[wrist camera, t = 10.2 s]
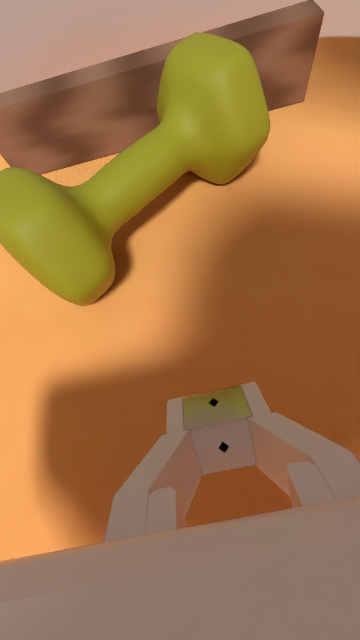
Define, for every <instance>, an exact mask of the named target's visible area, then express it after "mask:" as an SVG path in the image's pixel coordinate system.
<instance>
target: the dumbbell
mask: <svg viewBox="0 0 360 640" xmlns="http://www.w3.org/2000/svg"><path fill="white" fill-rule="evenodd" d="M157 114H158V118H159V121H160V124H159V125H158V126H157V127H156V128H155V129H153V130H152V131H151V132H149V133H148V134H146V135H145V136H143V137H142V138H140V139H139V140H138V141H136V142H135V143H133V144H132V145H131V146H129V147H128V148H126V149H125V150H124V151H122V152H121V153H120V154H118V155H117V156H116V157H115V158H114V159H112V160H111V161H110V162H109V163H108V164H106V165H105V166H104V167H103V168H102V169H101V170H99V171H98V172H97V173H96V174H95V175H94V176H93V177H91V178H90V179H89V180H88V181H86V182H85V183H83V184H82V185H79V186H74V187H68V186H62V185H60V184H57V183H54V182H52V181H51V180H49V179H47V178H45V177H43V176H41V175H39V174H37V173H35V172H32V171H30V170H28V169H23V168H19V167H12V168H6V169H4V170H2V171H0V243H1V244H2V245H3V247H4V248H5V249H6V250H7V251H8V252H9V253H10V254H11V255H12V257H13V258H14V259H15V260H16V261H17V262H18V263H19V264H20V265H21V266H22V267H24V268H25V269H26V270H27V271H28V272H29V273H30V274H31V275H32V276H33V277H34V278H35V279H37V280H38V281H39V282H40V283H41V284H42V285H44V286H45V287H46V288H48V289H49V290H50V291H52V292H53V293H55V294H56V295H58V296H60V297H61V298H63V299H65V300H67V301H69V302H71V303H74V304H76V305H80V306H87V305H90V304H92V303H93V302H94V301H96V300H97V299H98V298H99V297H100V296H101V295H102V294H104V293H105V292H106V291H107V290H108V289H109V287H110V286H111V285H112V283H113V281H114V278H115V262H114V258H113V255H112V250H111V244H112V239H113V236H114V234H115V233H116V231H117V230H118V229H119V228H120V227H121V226H122V225H123V224H125V223H126V222H127V221H128V220H130V219H131V218H132V217H134V216H135V215H136V214H137V213H138V212H140V211H141V210H142V209H143V208H144V207H145V206H147V205H148V204H149V203H150V202H151V201H153V200H154V199H155V198H156V197H157V196H159V195H160V194H161V193H162V192H163V191H165V190H166V189H167V188H168V187H169V186H171V185H172V184H173V183H174V182H175V181H176V180H177V179H178V178H179V177H180V176H182V175H183V174H184V173H186V172H187V171H191V172H193V173H194V174H196V175H198V176H199V177H201V178H203V179H205V180H207V181H210V182H213V183H216V184H225V183H228V182H229V181H231V180H232V179H234V178H235V177H236V176H237V175H238V174H239V173H241V172H242V171H243V170H244V169H245V168H246V167H247V166H248V165H249V163H250V162H251V161H252V160H253V159H254V157H255V156H256V155H257V154H258V152H259V151H260V149H261V148H262V147H263V145H264V144H265V142H266V140H267V138H268V135H269V131H270V119H269V113H268V108H267V104H266V100H265V96H264V92H263V88H262V84H261V81H260V77H259V74H258V71H257V68H256V65H255V62H254V60H253V58H252V56H251V54H250V52H249V51H248V50H247V49H246V48H245V47H244V46H242V45H240V44H239V43H236V42H234V41H232V40H229V39H226V38H223V37H220V36H216V35H213V34H208V33H194V34H191V35H189V36H188V37H186V38H185V39H183V40H182V41H180V42H179V43H178V44H177V45H176V46H175V47H174V48H173V49H172V50H171V52H170V53H169V55H168V57H167V59H166V62H165V65H164V68H163V72H162V76H161V81H160V86H159V92H158V100H157Z"/></svg>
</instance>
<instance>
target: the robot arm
mask: <svg viewBox="0 0 360 640" xmlns="http://www.w3.org/2000/svg"><path fill="white" fill-rule="evenodd" d="M255 465H257V467H258V468H259V469H260V470H261V471H262V472H263V473H264V474H265V475H266V476H267V477H269V478H270V479H271V480H272V481H273V482H274V483H275V484H276V485H277V486H278V487H279V488H280V489H281V490H283V491H284V492H285V493H286V494H287V495H288V496H289V497H290V498H291V506H292V508H290V509H285V510H279V511H274V512H268V513H263V514H257V515H252V516H247V517H241V518H236V519H230V520H225V521H219V522H214V523H208V524H203V525H197V526H192V527H188V526H187V523H186V520H185V517H186V515H187V512H188V510H189V508H190V505H191V503H192V500H193V498H194V496H195V493H196V491H197V489H198V486H199V484H200V482H201V479H202V476H203V475H207V474H212V473H216V472H221V471H225V470H230V469H236V468H242V467H249V466H255ZM0 640H360V462H359V461H358V460H357V458H356V457H355V456H354V454H353V453H352V452H351V451H350V450H348V449H346V448H344V447H342V446H340V445H338V444H337V443H335V442H333V441H331V440H329V439H327V438H325V437H323V436H321V435H319V434H317V433H316V432H314V431H312V430H310V429H308V428H306V427H304V426H302V425H300V424H298V423H296V422H295V421H293V420H291V419H289V418H287V417H285V416H283V415H281V414H279V413H277V412H272V413H271V411H270V409H269V407H268V405H267V403H266V401H265V399H264V397H263V395H262V393H261V391H260V389H259V387H258V385H257V383H256V382H250V383H246V384H241V385H239V386H234V387H230V388H225V389H221V390H216V391H212V392H211V391H210V392H205V393H200V394H194V395H189V396H184V397H179V398H174V399H169V400H168V402H167V427H166V434H164V435H161V437H160V438H159V439H158V441H157V442H156V443H155V444H154V446H153V447H152V448H151V449H150V451H149V452H148V453H147V454H146V456H145V457H144V458H143V460H142V461H141V462H140V463H139V465H138V466H137V467H136V468H135V470H134V471H133V472H132V473H131V475H130V476H129V477H128V479H127V480H126V481H125V482H124V484H123V485H122V486H121V487H120V489H119V490H118V491H117V493H116V494H115V495H114V497H113V502H112V507H111V511H110V516H109V520H108V525H107V530H106V534H105V539H104V543H98V544H93V545H87V546H82V547H76V548H71V549H65V550H60V551H54V552H49V553H43V554H38V555H32V556H27V557H21V558H16V559H10V560H5V561H0Z"/></svg>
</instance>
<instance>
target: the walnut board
mask: <svg viewBox="0 0 360 640" xmlns="http://www.w3.org/2000/svg"><path fill="white" fill-rule="evenodd" d="M323 16H324V12H323V11H322V9H321V8H320V7H319V6H318V5H317V4H316V3H315V2H314V1H313V0H308V1H305V2H302V3H298V4H295V5H292V6H288V7H285V8H282V9H278V10H275V11H272V12H268V13H265V14H262V15H258V16H255V17H252V18H249V19H245V20H242V21H239V22H235V23H232V24H229V25H225V26H222V27H219V28H215V29H212V30H209V31H206V32H202V33H208V34H213V35H216V36H220V37H223V38H226V39H229V40H232V41H234V42H236V43H239V44H240V45H242V46H244V47H245V48H246V49H247V50H248V51H249V52H250V54H251V56H252V58H253V60H254V62H255V65H256V68H257V71H258V74H259V77H260V81H261V84H262V88H263V92H264V96H265V100H266V104H267V108H268V111H269V110H273V109H276V108H280V107H284V106H287V105H291V104H294V103H298V102H301V101H304V98H305V94H306V89H307V85H308V81H309V76H310V72H311V68H312V63H313V59H314V55H315V50H316V46H317V42H318V37H319V33H320V29H321V24H322V20H323ZM185 38H186V37H185ZM185 38H182V39H179V40H175V41H172V42H169V43H166V44H162V45H159V46H156V47H152V48H149V49H146V50H142V51H139V52H136V53H132V54H129V55H126V56H122V57H119V58H116V59H112V60H109V61H106V62H102V63H99V64H96V65H93V66H89V67H86V68H82V69H79V70H76V71H73V72H69V73H66V74H63V75H59V76H56V77H53V78H50V79H46V80H43V81H39V82H36V83H33V84H29V85H26V86H23V87H19V88H16V89H13V90H9V91H6V92H3V93H0V154H1V155H2V157H3V158H4V159H5V160H6V162H7V163H8V164H9V165H10V167H11V168H12V167H19V168H23V169H28V170H30V171H32V172H35V173H37V174H39V175H40V174H43V173H47V172H51V171H54V170H58V169H61V168H65V167H68V166H72V165H76V164H79V163H83V162H86V161H90V160H94V159H97V158H101V157H104V156H108V155H111V154H115V153H119V152H122V151H124V150H125V149H126V148H128V147H129V146H131V145H132V144H133V143H135V142H136V141H138V140H139V139H140V138H142V137H143V136H145V135H146V134H148V133H149V132H151V131H152V130H153V129H155V128H156V127H157V126H158V125H159V124H160V121H159V118H158V114H157V100H158V92H159V86H160V81H161V76H162V72H163V68H164V65H165V62H166V59H167V57H168V55H169V53H170V52H171V50H172V49H173V48H174V47H175V46H176V45H177V44H178V43H179V42H180V41H182V40H183V39H185Z"/></svg>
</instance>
